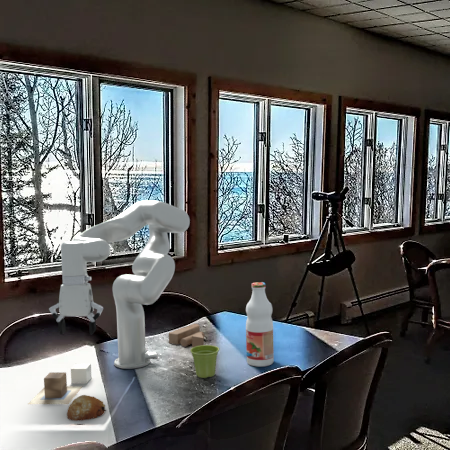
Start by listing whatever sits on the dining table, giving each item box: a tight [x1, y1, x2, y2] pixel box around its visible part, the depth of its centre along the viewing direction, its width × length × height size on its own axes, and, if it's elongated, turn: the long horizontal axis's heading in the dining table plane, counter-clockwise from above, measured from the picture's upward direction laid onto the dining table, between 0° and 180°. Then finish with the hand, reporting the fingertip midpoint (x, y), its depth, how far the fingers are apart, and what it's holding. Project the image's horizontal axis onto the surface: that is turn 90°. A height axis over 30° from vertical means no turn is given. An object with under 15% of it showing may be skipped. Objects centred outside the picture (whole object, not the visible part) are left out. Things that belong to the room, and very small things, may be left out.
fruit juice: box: [245, 281, 275, 368], centre depth 200 cm, size 9×9×28 cm
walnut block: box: [43, 371, 68, 398], centre depth 173 cm, size 5×5×6 cm
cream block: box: [70, 363, 92, 384], centre depth 185 cm, size 5×5×6 cm
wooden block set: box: [168, 323, 206, 348], centre depth 230 cm, size 17×6×18 cm
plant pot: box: [190, 344, 220, 379], centre depth 190 cm, size 9×9×9 cm
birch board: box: [27, 385, 83, 405], centre depth 173 cm, size 12×14×1 cm
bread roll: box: [66, 394, 107, 426], centre depth 160 cm, size 10×10×8 cm
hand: (77, 333), depth 184 cm, fingers open, 9 cm apart
